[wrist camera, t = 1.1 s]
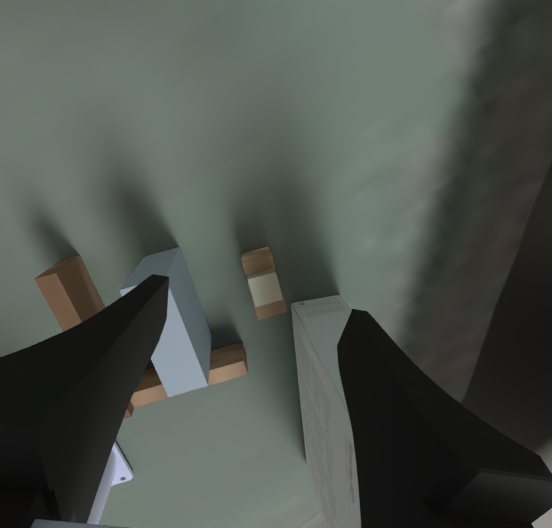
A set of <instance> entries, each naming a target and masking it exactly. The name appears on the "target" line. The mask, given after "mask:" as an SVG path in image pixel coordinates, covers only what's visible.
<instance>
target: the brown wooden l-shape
mask: <svg viewBox="0 0 552 528" xmlns="http://www.w3.org/2000/svg"><path fill="white" fill-rule="evenodd" d="M35 281H36V283H37V284H38V286H39V288H40V290H41V292H42V293H43V295H44V297H45V299H46V301H47V302H48V304H49V306H50V308H51V310H52V311H53V313H54V315H55V317H56V319H57V320H58V322H59V324H60V326H61V328H62V329H63V331H66V330H68V329H70V328H72V327H74V326H76V325H78V324H80V323H81V322H83V321H85V320H87V319H88V318H90V317H92V316H93V315H95V314H97V313H98V312H100V311H101V310H103V309H105V307H104V305H103V303H102V301H101V298H100V296H99V294H98V292H97V290H96V288H95V286H94V284H93V282H92V280H91V278H90V276H89V274H88V272H87V270H86V268H85V266H84V264H83V261H82V259H81V257H80V255H79V256H75V257H71V258H68V259H64V260H61V261H59V262H58V263H56V264H55V265H54V266H52V267H51V268H49V269H48V270H46V271H45V272H44V273H42V274H41V275H39V276H38V277H36V278H35ZM247 374H248V368H247V358H246V352H245V349H244V346H243V343H242V342H239V343H236V344H232V345H229V346H225V347H222V348H218V349H215V350H211V353H210V367H209V381H208V386H210V385H213V384H217V383H220V382H223V381H227V380H230V379H234V378H237V377H240V376H244V375H247ZM202 388H203V387H202ZM199 389H200V388H199ZM195 390H196V389H195ZM192 391H193V390H192ZM185 393H186V392H185ZM182 394H183V393H182ZM178 395H179V394H178ZM175 396H176V395H175ZM165 398H169V397H168V395H167V393H166V391H165V389H164V387H163V384H162V382H161V380H160V378H159V376H158V373H157V371H156V369H155V367H152V368H149V369H146V370H145V371H144V373H143V375H142V377H141V379H140V381H139V383H138V385H137V387H136V389H135V391H134V393H133V395H132V398H131V400H130V402H129V405H128V407H127V410H126V413H125V415H124V418H128V417H131V416H132V413H133V410H134V408H135V407H138V406H142V405H145V404H148V403H152V402H155V401H159V400H162V399H165ZM124 418H123V419H124Z"/></svg>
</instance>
